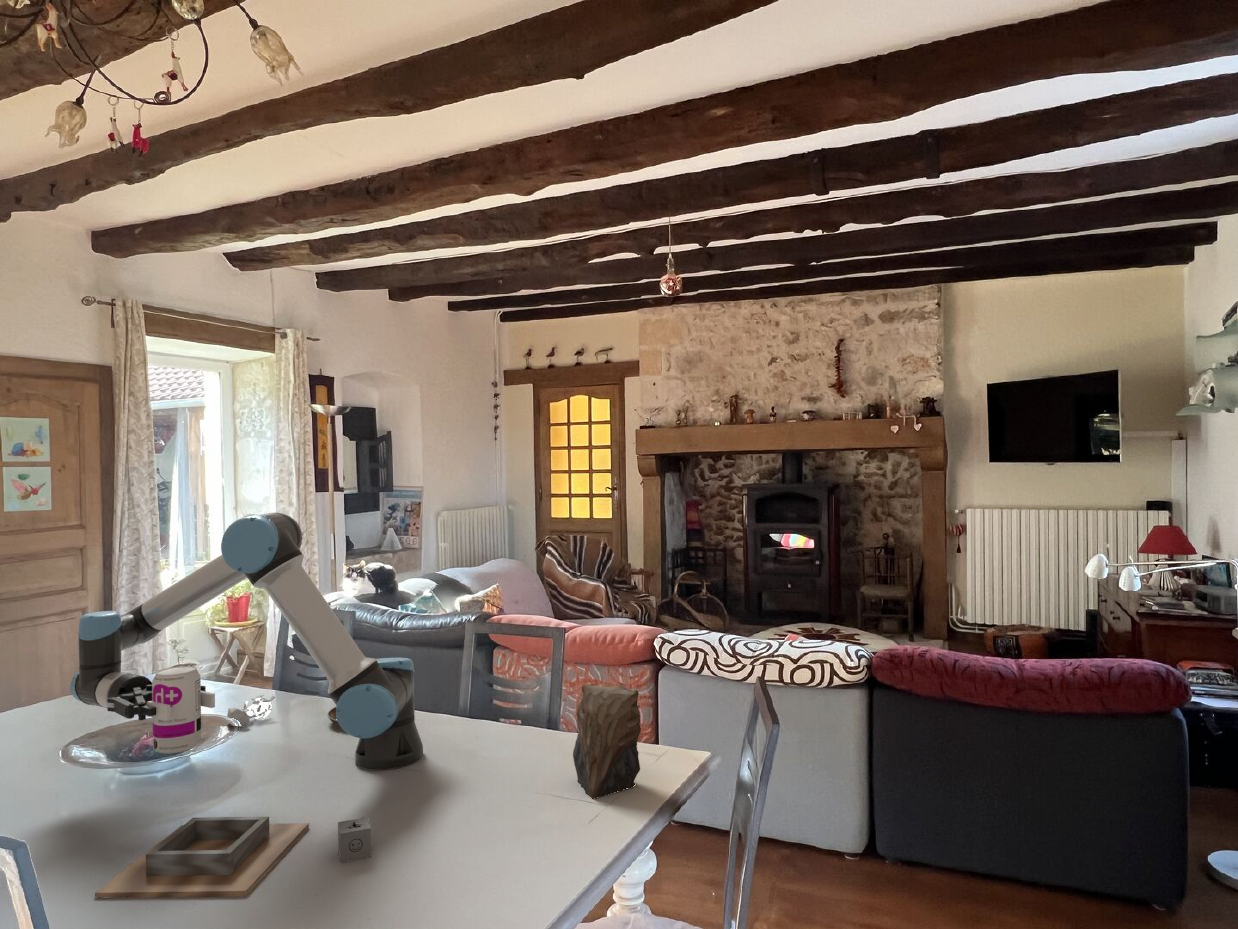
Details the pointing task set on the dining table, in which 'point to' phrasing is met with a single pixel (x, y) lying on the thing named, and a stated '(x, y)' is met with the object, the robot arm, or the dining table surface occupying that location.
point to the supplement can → (177, 709)
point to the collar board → (207, 859)
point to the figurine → (251, 710)
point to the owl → (607, 739)
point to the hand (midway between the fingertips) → (191, 706)
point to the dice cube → (354, 839)
